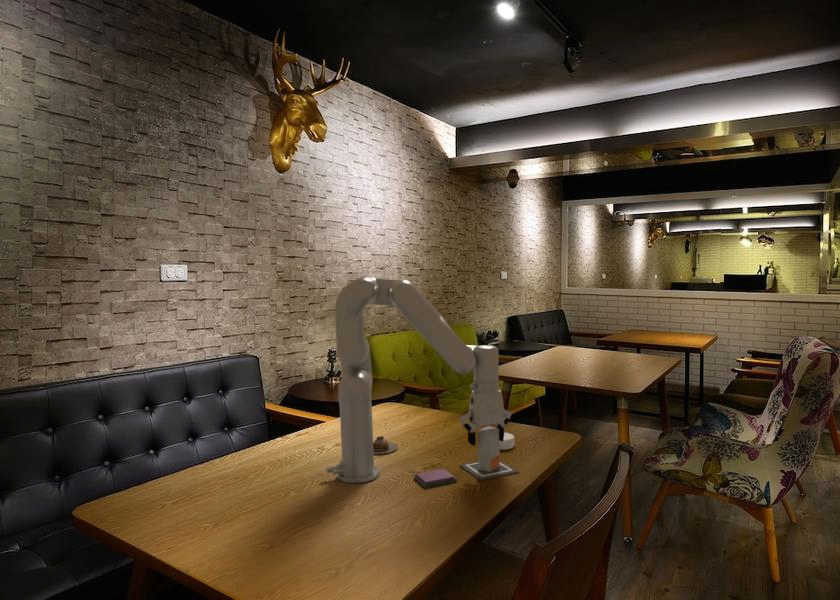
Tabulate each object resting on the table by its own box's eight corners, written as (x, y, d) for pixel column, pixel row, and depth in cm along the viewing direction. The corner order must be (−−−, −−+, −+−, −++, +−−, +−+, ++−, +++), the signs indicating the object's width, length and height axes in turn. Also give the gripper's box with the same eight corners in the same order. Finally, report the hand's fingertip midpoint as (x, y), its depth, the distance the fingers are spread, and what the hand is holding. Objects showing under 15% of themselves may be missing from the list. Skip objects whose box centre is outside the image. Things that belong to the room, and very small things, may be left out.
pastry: (396, 455, 178) (396, 442, 178) (361, 457, 178) (360, 443, 178) (398, 444, 190) (397, 431, 190) (364, 445, 190) (364, 433, 190)
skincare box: (490, 472, 158) (489, 432, 158) (478, 469, 161) (477, 430, 161) (500, 466, 163) (499, 427, 163) (488, 463, 166) (487, 425, 165)
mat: (480, 480, 154) (480, 478, 154) (460, 466, 166) (459, 464, 166) (518, 472, 159) (518, 470, 159) (496, 459, 171) (496, 457, 171)
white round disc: (513, 441, 189) (513, 431, 189) (515, 450, 179) (515, 440, 179) (485, 441, 190) (485, 431, 190) (485, 450, 180) (485, 440, 180)
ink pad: (424, 488, 149) (424, 483, 149) (414, 478, 157) (413, 473, 157) (456, 481, 153) (456, 476, 153) (444, 472, 161) (444, 467, 161)
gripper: (466, 391, 154) (466, 449, 155) (517, 386, 161) (517, 442, 162) (454, 386, 161) (455, 442, 162) (504, 381, 168) (503, 435, 168)
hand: (486, 442), depth 162 cm, fingers open, 9 cm apart
